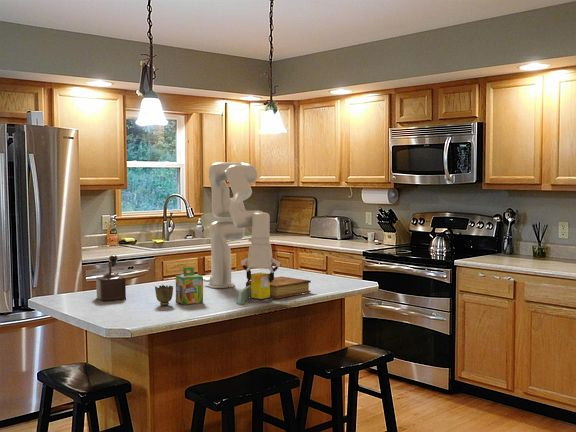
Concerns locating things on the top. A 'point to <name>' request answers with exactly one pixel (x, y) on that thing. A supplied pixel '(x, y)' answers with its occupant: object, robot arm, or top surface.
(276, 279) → the diary
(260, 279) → the supplement box
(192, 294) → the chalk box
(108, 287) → the coffee grinder
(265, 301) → the coaster
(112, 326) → the top surface
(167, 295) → the cup
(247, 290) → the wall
